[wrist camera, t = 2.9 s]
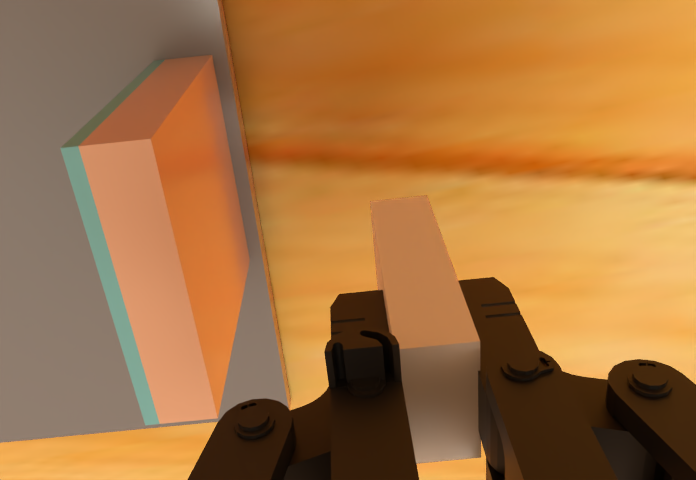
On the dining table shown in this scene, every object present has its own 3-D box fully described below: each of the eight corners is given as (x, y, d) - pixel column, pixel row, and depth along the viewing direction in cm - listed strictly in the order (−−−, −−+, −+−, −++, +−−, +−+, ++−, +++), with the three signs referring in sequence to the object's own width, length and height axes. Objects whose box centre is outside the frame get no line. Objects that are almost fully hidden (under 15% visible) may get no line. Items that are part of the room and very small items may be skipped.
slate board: (-279, -176, 20) (-307, -179, 19) (183, -226, 20) (176, -232, 19) (-9, 428, 31) (-19, 444, 30) (290, 399, 31) (289, 414, 30)
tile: (153, 61, 23) (60, 147, 15) (211, 54, 23) (150, 138, 15) (199, 265, 26) (145, 425, 18) (250, 260, 26) (217, 418, 18)
